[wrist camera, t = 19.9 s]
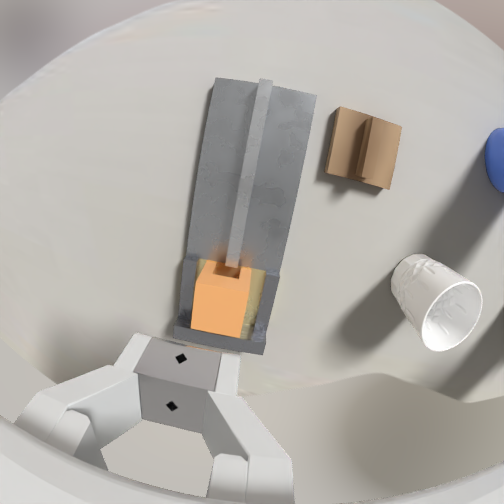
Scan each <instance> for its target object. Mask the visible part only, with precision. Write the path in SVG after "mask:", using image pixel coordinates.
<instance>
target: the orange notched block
mask: <svg viewBox="0 0 504 504" xmlns="http://www.w3.org/2000/svg"><path fill="white" fill-rule="evenodd" d="M216 265H217V263H214V262H209V261H206V263H205V265H204V267H203V269H202V271H201V273H200V275H199V277H198V279H197V281H196V285H195V293H194V302H193V311H192V320H191V329H196V330H201V331H206V332H211V333H216V334H221V335H226V336H231V337H237V338H240V334H241V330H242V325H243V320H244V315H245V310H246V305H247V301H248V296H249V289H250V279H251V269H246V268H241V271H240V276H239V279H236V278H231V277H226V276H221V275H215V272H216Z"/></svg>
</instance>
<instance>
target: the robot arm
mask: <svg viewBox="0 0 504 504" xmlns="http://www.w3.org/2000/svg"><path fill="white" fill-rule="evenodd" d="M221 355H222V356H221ZM240 362H241V356H240V355H239V354H232V353H226V352H217V351H212V350H207V349H202V348H197V347H192V346H187V345H184V344H180V343H176V342H172V341H168V340H164V339H161V338H157V337H152V336H149V335H145V334H142V333H138V332H137V333H135V334H134V335H133V336H132V338H131V339H130V341H129V342H128V344H127V345H126V347H125V348H124V350H123V351H122V353H121V354H120V356H119V357H118V359H117V361H116V362H115V364H114V365H113V366H111V365H106V366H104V367H101V368H99V369H96V370H94V371H91V372H88V373H86V374H83V375H81V376H78V377H76V378H73V379H70V380H68V381H65V382H63V383H60V384H57V385H55V386H52V387H49V388H47V389H44V390H41V391H38V392H37V393H36V395H35V396H34V397H33V399H32V400H31V401H30V403H29V404H28V405H27V406H26V408H25V409H24V410H23V412H22V413H21V415H20V416H19V417H18V418H17V420H16V421H15V423H14V424H13V423H11V422H10V421H8V420H7V419H5V418H4V417H2V416H1V415H0V504H294V487H293V470H292V460H291V458H290V457H289V456H288V455H287V454H286V452H285V451H284V450H283V448H282V447H281V446H280V445H279V444H278V442H277V441H276V440H275V439H274V437H273V436H272V435H271V434H270V433H269V431H268V430H267V428H266V427H265V426H264V425H263V423H262V422H261V421H260V420H259V418H258V417H257V416H256V414H255V413H254V412H253V410H252V409H251V408H250V407H249V405H248V404H247V403H246V401H245V399H244V398H243V397H241V396H237V390H238V381H239V371H240ZM142 419H144V420H148V421H152V422H156V423H160V424H164V425H169V426H173V427H177V428H181V429H185V430H189V431H193V432H198V433H202V436H203V438H204V440H205V442H206V444H207V447H208V449H209V451H210V453H211V455H212V457H213V459H214V463H213V467H212V472H211V477H210V481H209V486H208V490H207V495H206V498H205V497H199V496H194V495H189V494H184V493H180V492H175V491H171V490H167V489H163V488H159V487H155V486H152V485H148V484H145V483H142V482H138V481H135V480H132V479H129V478H126V477H123V476H120V475H117V474H114V473H111V472H109V471H108V469H107V466H106V463H105V461H104V459H103V456H102V453H101V451H100V449H101V448H103V447H104V446H106V445H107V444H109V443H110V442H111V441H113V440H114V439H116V438H118V437H119V436H120V435H122V434H123V433H125V432H126V431H128V430H129V429H130V428H132V427H134V426H135V425H136V424H138V423H139V422H140V421H142ZM341 504H504V461H502V462H500V463H497V464H495V465H493V466H491V467H488V468H486V469H483V470H481V471H478V472H476V473H473V474H470V475H468V476H465V477H463V478H459V479H456V480H453V481H450V482H447V483H444V484H441V485H438V486H434V487H431V488H427V489H423V490H419V491H415V492H411V493H407V494H402V495H397V496H392V497H387V498H381V499H374V500H368V501H360V502H351V503H341Z"/></svg>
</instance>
